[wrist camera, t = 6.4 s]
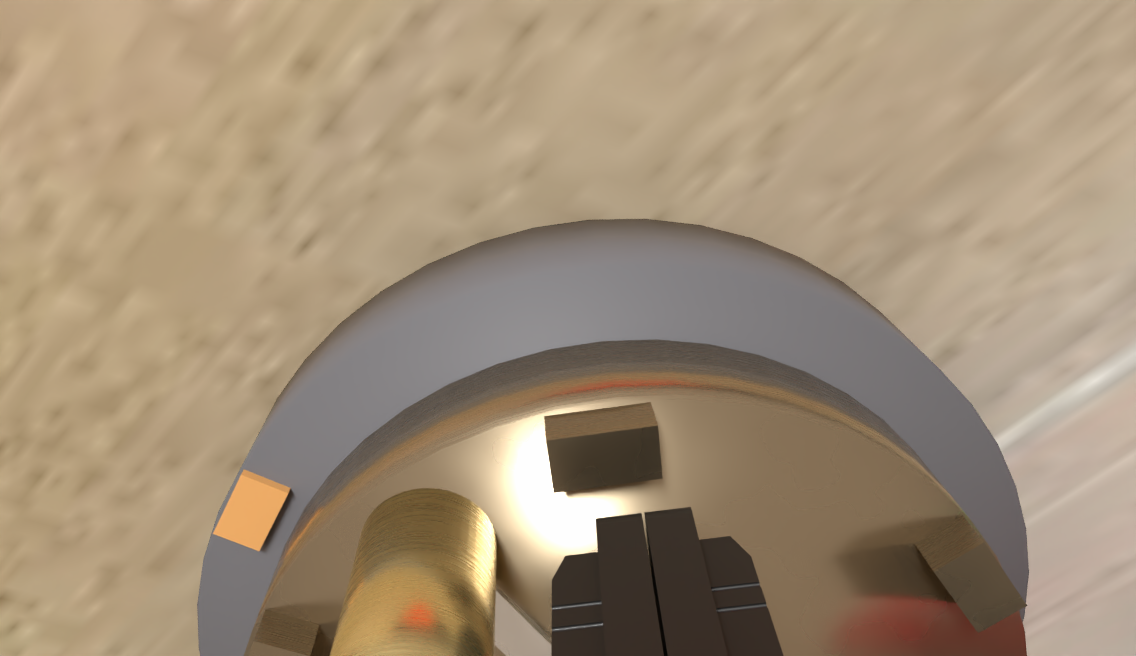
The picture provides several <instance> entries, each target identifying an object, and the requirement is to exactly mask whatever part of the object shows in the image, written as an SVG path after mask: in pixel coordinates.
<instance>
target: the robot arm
mask: <svg viewBox="0 0 1136 656" xmlns="http://www.w3.org/2000/svg"><path fill="white" fill-rule="evenodd" d="M644 516H645V525H646V534H647V542H648V550H649V557H648V551H647V544H646V538H645V531H644V525H643V519H642V513H637V514H629V515H620V516H612V517H604V518H596V533H597V547H598V552H593V553H584V554H576V555H567V556H565V557H564V559H563V561H562V563H561V564H560V566H559V568H558V570H557V572H556V573H555V575H554V577H553V579H552V642H551V656H784V655H783V652H782V649H781V646H780V643H779V640H778V637H777V634H776V631H775V628H774V625H773V622H772V619H771V616H770V612H769V609H768V608H767V605H766V600H765V597H764V594H763V591H762V588H761V587H760V583H759V579H758V576H757V573H756V570H755V567H754V564H753V560H752V557H751V556H750V555H749V554H748V553H747V552H746V551H745V550H744V549H743V548H742V547H741V546H740V545H739V544H738V543H737V542H736V541H735V540H734V539H733V538H732V537H731V536H726V537H717V538H709V539H700V540H699V537H698V533H697V529H696V525H695V521H694V517H693V513H692V509H691V507H685V508H677V509H668V510H660V511H652V512H644ZM649 559H650V563H649ZM650 567H651V570H650Z"/></svg>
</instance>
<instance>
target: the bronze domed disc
mask: <svg viewBox="0 0 1136 656" xmlns="http://www.w3.org/2000/svg"><path fill="white" fill-rule="evenodd" d="M685 507H691V509H692V513H693V517H694V521H695V525H696V529H697V533H698V537H699V540H700V539H709V538H717V537H726V536H731V537H732V538H733V539H734V540H735V541H736V542H737V543H738V544H739V545H740V546H741V547H742V548H743V549H744V550H745V551H746V552H747V553H748V554H749V555H750V556H751V557H752V560H753V564H754V567H755V570H756V573H757V576H758V579H759V583H760V587H761V588H762V591H763V594H764V597H765V600H766V605H767V608H768V609H769V612H770V616H771V619H772V622H773V625H774V628H775V631H776V634H777V637H778V640H779V643H780V646H781V649H782V652H783V655H784V656H1027V653H1026V641H1025V631H1024V627H1023V623H1022V620H1021V616H1020V612H1019V610H1020V609H1022V608H1024V607H1026V606H1027V604H1026V603H1025V602H1024V600H1023V599H1022V597H1021V596H1020V594H1019V593H1018V591H1017V590H1016V588H1015V587H1014V585H1013V584H1012V582H1011V581H1010V579H1009V578H1008V576H1007V575H1006V573H1005V572H1004V570H1003V568H1002V566H1001V564H1000V562H999V560H998V558H997V556H996V554H995V553H994V552H993V550H992V549H991V547H990V546H989V545H988V543H987V542H986V540H985V539H984V538H983V536H982V535H981V533H980V532H979V531H978V529H977V528H976V527H975V525H974V524H973V522H972V521H971V520H970V518H969V517H968V516H967V515H966V514H965V512H964V511H963V510H962V509H961V507H960V506H959V505H958V504H957V502H956V501H955V500H954V499H953V498H952V496H951V495H950V494H949V493H948V491H947V490H946V489H945V488H944V487H943V485H942V484H941V483H940V482H939V480H938V479H937V478H936V477H935V475H934V474H933V473H932V472H931V471H930V469H929V468H928V467H927V466H926V464H925V463H924V462H923V461H922V460H921V458H920V457H919V456H918V455H917V453H916V452H915V451H914V450H913V449H912V448H911V447H910V446H909V445H908V444H907V443H906V442H905V441H904V440H903V439H902V438H901V437H900V436H899V435H898V434H897V433H896V432H895V431H894V430H893V429H892V428H891V427H890V426H889V425H888V424H887V423H886V422H885V421H884V420H883V419H882V418H880V417H879V416H878V415H876V414H875V413H873V412H872V411H871V410H869V409H868V408H867V407H865V406H864V405H862V404H861V403H860V402H858V401H857V400H856V399H854V398H853V397H851V396H850V395H849V394H847V393H845V392H844V391H842V390H840V389H838V388H836V387H834V386H832V385H830V384H828V383H826V382H824V381H823V380H821V379H819V378H817V377H815V376H813V375H811V374H809V373H807V372H805V371H802V370H800V369H797V368H794V367H791V366H789V365H786V364H783V363H780V362H777V361H775V360H772V359H769V358H766V357H764V356H761V355H757V354H752V353H748V352H743V351H739V350H734V349H729V348H725V347H720V346H716V345H711V344H702V343H691V342H680V341H669V340H658V339H654V340H623V341H601V342H594V343H588V344H581V345H575V346H568V347H561V348H555V349H549V350H545V351H542V352H538V353H535V354H531V355H527V356H524V357H520V358H517V359H513V360H509V361H506V362H502V363H499V364H496V365H493V366H491V367H489V368H486V369H484V370H481V371H479V372H476V373H474V374H472V375H469V376H467V377H464V378H462V379H460V380H457V381H455V382H452V383H450V384H448V385H446V386H444V387H443V388H441V389H439V390H437V391H436V392H434V393H432V394H430V395H428V396H427V397H425V398H423V399H421V400H420V401H418V402H416V403H414V404H413V405H411V406H409V407H407V408H406V409H404V410H403V411H401V412H400V413H399V414H397V415H396V416H395V417H393V418H392V419H391V420H389V421H388V422H387V423H385V424H384V425H383V426H381V427H380V428H379V429H377V430H376V431H375V432H373V433H372V434H371V435H369V436H368V437H367V438H366V439H364V440H363V441H362V442H361V443H360V444H359V445H358V446H357V447H356V448H355V449H354V450H353V451H352V452H351V453H350V454H349V455H348V456H347V457H346V458H345V459H344V460H343V461H342V462H341V463H340V464H339V465H338V466H337V467H336V468H335V469H334V470H333V471H332V472H331V473H330V475H329V476H328V477H327V479H326V480H325V482H324V483H323V484H322V486H321V487H320V488H319V490H318V491H317V492H316V494H315V495H314V496H313V498H312V499H311V500H310V502H309V503H308V504H307V506H306V507H305V508H304V510H303V512H302V514H301V516H300V518H299V520H298V521H297V523H296V525H295V527H294V529H293V531H292V533H291V535H290V536H289V538H288V540H287V542H286V544H285V546H284V549H283V551H282V554H281V556H280V559H279V562H278V564H277V567H276V570H275V572H274V575H273V577H272V580H271V583H270V585H269V588H268V590H267V593H266V596H265V598H264V601H263V604H262V606H261V609H260V611H259V614H258V617H257V619H256V622H255V625H254V627H253V630H252V633H251V636H250V639H249V642H248V645H247V647H246V650H245V653H244V656H551V642H552V579H553V577H554V575H555V573H556V572H557V570H558V568H559V566H560V564H561V563H562V561H563V559H564V557H565V556H567V555H576V554H584V553H593V552H598V547H597V533H596V518H604V517H612V516H620V515H629V514H637V513H642V519H643V525H644V531H645V538H646V544H647V551H648V557H649V550H648V542H647V534H646V525H645V516H644V512H652V511H660V510H668V509H677V508H685ZM649 563H650V559H649ZM650 570H651V567H650Z"/></svg>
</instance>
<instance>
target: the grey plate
mask: <svg viewBox="0 0 1136 656" xmlns="http://www.w3.org/2000/svg"><path fill="white" fill-rule="evenodd" d="M654 339H658V340H669V341H680V342H691V343H702V344H711V345H716V346H720V347H725V348H729V349H734V350H739V351H743V352H748V353H752V354H757V355H761V356H764V357H766V358H769V359H772V360H775V361H777V362H780V363H783V364H786V365H789V366H791V367H794V368H797V369H800V370H802V371H805V372H807V373H809V374H811V375H813V376H815V377H817V378H819V379H821V380H823V381H824V382H826V383H828V384H830V385H832V386H834V387H836V388H838V389H840V390H842V391H844V392H845V393H847V394H849V395H850V396H851V397H853V398H854V399H856V400H857V401H858V402H860V403H861V404H862V405H864V406H865V407H867V408H868V409H869V410H871V411H872V412H873V413H875V414H876V415H878V416H879V417H880V418H882V419H883V420H884V421H885V422H886V423H887V424H888V425H889V426H890V427H891V428H892V429H893V430H894V431H895V432H896V433H897V434H898V435H899V436H900V437H901V438H902V439H903V440H904V441H905V442H906V443H907V444H908V445H909V446H910V447H911V448H912V449H913V450H914V451H915V452H916V453H917V455H918V456H919V457H920V458H921V460H922V461H923V462H924V463H925V464H926V466H927V467H928V468H929V469H930V471H931V472H932V473H933V474H934V475H935V477H936V478H937V479H938V480H939V482H940V483H941V484H942V485H943V487H944V488H945V489H946V490H947V491H948V493H949V494H950V495H951V496H952V498H953V499H954V500H955V501H956V502H957V504H958V505H959V506H960V507H961V509H962V510H963V511H964V512H965V514H966V515H967V516H968V517H969V518H970V520H971V521H972V522H973V524H974V525H975V527H976V528H977V529H978V531H979V532H980V533H981V535H982V536H983V538H984V539H985V540H986V542H987V543H988V545H989V546H990V547H991V549H992V550H993V552H994V553H995V554H996V556H997V558H998V560H999V562H1000V564H1001V566H1002V568H1003V570H1004V572H1005V573H1006V575H1007V576H1008V578H1009V579H1010V581H1011V582H1012V584H1013V585H1014V587H1015V588H1016V590H1017V591H1018V593H1019V594H1020V596H1021V597H1022V599H1023V600H1024V602H1025V603H1026V595H1027V585H1028V575H1029V568H1028V552H1027V536H1026V527H1025V523H1024V519H1023V514H1022V510H1021V506H1020V502H1019V498H1018V493H1017V489H1016V486H1015V483H1014V481H1013V479H1012V476H1011V474H1010V472H1009V469H1008V467H1007V465H1006V462H1005V460H1004V458H1003V455H1002V453H1001V451H1000V448H999V446H998V444H997V442H996V441H995V439H994V438H993V436H992V435H991V433H990V432H989V430H988V429H987V427H986V425H985V424H984V422H983V421H982V419H981V418H980V416H979V415H978V413H977V412H976V410H975V409H974V407H973V405H972V404H971V403H970V402H969V401H968V400H967V399H966V397H965V396H964V395H963V394H962V393H961V392H960V391H959V390H958V389H957V388H956V387H955V385H954V384H953V383H952V382H951V381H950V380H949V379H948V378H947V377H946V376H945V375H944V374H943V372H942V371H941V370H940V369H939V368H938V367H937V366H936V365H935V364H934V363H933V362H932V361H931V360H930V359H929V358H928V357H927V356H926V355H925V354H924V353H922V352H921V351H920V350H919V349H918V348H917V347H916V346H915V345H914V344H913V343H912V342H911V341H910V340H909V339H908V338H907V337H906V336H905V335H904V334H903V333H902V332H901V331H900V330H899V329H898V328H897V327H895V326H894V325H893V324H892V323H891V322H890V321H889V320H888V319H887V318H886V317H885V316H884V315H883V314H882V313H881V312H880V311H879V310H877V309H876V308H875V307H874V306H872V305H871V304H870V303H869V302H867V301H866V300H865V299H863V298H862V297H861V296H860V295H858V294H857V293H856V292H855V291H853V290H852V289H851V288H850V287H848V286H847V285H846V284H845V283H843V282H842V281H840V280H838V279H836V278H835V277H833V276H831V275H830V274H828V273H826V272H824V271H823V270H821V269H819V268H817V267H816V266H814V265H812V264H810V263H809V262H807V261H805V260H804V259H802V258H800V257H797V256H795V255H793V254H790V253H788V252H785V251H783V250H780V249H778V248H775V247H773V246H770V245H768V244H765V243H763V242H760V241H758V240H755V239H753V238H749V237H745V236H741V235H737V234H733V233H729V232H725V231H721V230H717V229H713V228H709V227H705V226H701V225H693V224H684V223H676V222H667V221H658V220H649V219H615V220H585V221H578V222H571V223H564V224H557V225H550V226H543V227H536V228H531V229H528V230H524V231H520V232H517V233H513V234H509V235H506V236H502V237H498V238H495V239H491V240H487V241H484V242H480V243H477V244H475V245H473V246H470V247H468V248H466V249H463V250H461V251H458V252H456V253H454V254H451V255H449V256H446V257H444V258H442V259H439V260H437V261H434V262H432V263H430V264H428V265H426V266H424V267H422V268H421V269H419V270H417V271H415V272H414V273H412V274H410V275H409V276H407V277H405V278H403V279H402V280H400V281H398V282H397V283H395V284H393V285H391V286H390V287H388V288H386V289H384V290H383V291H381V292H380V293H379V294H377V295H376V296H375V297H373V298H372V299H371V300H370V301H368V302H367V303H366V304H364V305H363V306H362V307H361V308H359V309H358V310H357V311H355V312H354V313H353V314H352V315H350V316H349V317H348V318H346V319H345V320H344V321H343V322H341V323H340V324H339V325H338V326H337V327H336V328H335V329H334V330H333V331H332V332H331V333H330V334H329V335H328V337H327V338H326V339H325V340H324V341H323V342H322V343H321V344H320V345H319V346H318V347H317V348H316V349H315V350H314V351H313V352H312V353H311V354H310V355H309V356H308V357H307V358H306V359H305V361H304V362H303V363H302V365H301V366H300V368H299V369H298V370H297V372H296V373H295V375H294V376H293V377H292V379H291V380H290V382H289V383H288V384H287V386H286V387H285V388H284V390H283V391H282V393H281V394H280V395H279V397H278V398H277V400H276V402H275V404H274V406H273V408H272V410H271V412H270V413H269V415H268V417H267V419H266V421H265V423H264V425H263V427H262V429H261V431H260V432H259V434H258V436H257V438H256V440H255V442H254V444H253V446H252V448H251V450H250V452H249V453H248V455H247V457H246V459H245V461H244V463H243V465H242V467H241V469H240V471H239V473H238V475H237V477H236V479H235V481H234V483H233V484H232V486H231V488H230V490H229V492H228V494H227V496H226V498H225V500H224V502H223V504H222V506H221V508H220V510H219V512H218V515H217V518H216V521H215V524H214V528H213V531H212V534H211V537H210V540H209V543H208V547H207V550H206V553H205V556H204V560H203V567H202V575H201V582H200V589H199V597H198V604H197V606H198V634H199V651H200V656H244V653H245V650H246V647H247V645H248V642H249V639H250V636H251V633H252V630H253V627H254V625H255V622H256V619H257V617H258V614H259V611H260V609H261V606H262V604H263V601H264V598H265V596H266V593H267V590H268V588H269V585H270V583H271V580H272V577H273V575H274V572H275V570H276V567H277V564H278V562H279V559H280V556H281V554H282V551H283V549H284V546H285V544H286V542H287V540H288V538H289V536H290V535H291V533H292V531H293V529H294V527H295V525H296V523H297V521H298V520H299V518H300V516H301V514H302V512H303V510H304V508H305V507H306V506H307V504H308V503H309V502H310V500H311V499H312V498H313V496H314V495H315V494H316V492H317V491H318V490H319V488H320V487H321V486H322V484H323V483H324V482H325V480H326V479H327V477H328V476H329V475H330V473H331V472H332V471H333V470H334V469H335V468H336V467H337V466H338V465H339V464H340V463H341V462H342V461H343V460H344V459H345V458H346V457H347V456H348V455H349V454H350V453H351V452H352V451H353V450H354V449H355V448H356V447H357V446H358V445H359V444H360V443H361V442H362V441H363V440H364V439H366V438H367V437H368V436H369V435H371V434H372V433H373V432H375V431H376V430H377V429H379V428H380V427H381V426H383V425H384V424H385V423H387V422H388V421H389V420H391V419H392V418H393V417H395V416H396V415H397V414H399V413H400V412H401V411H403V410H404V409H406V408H407V407H409V406H411V405H413V404H414V403H416V402H418V401H420V400H421V399H423V398H425V397H427V396H428V395H430V394H432V393H434V392H436V391H437V390H439V389H441V388H443V387H444V386H446V385H448V384H450V383H452V382H455V381H457V380H460V379H462V378H464V377H467V376H469V375H472V374H474V373H476V372H479V371H481V370H484V369H486V368H489V367H491V366H493V365H496V364H499V363H502V362H506V361H509V360H513V359H517V358H520V357H524V356H527V355H531V354H535V353H538V352H542V351H545V350H549V349H555V348H561V347H568V346H575V345H581V344H588V343H594V342H601V341H623V340H654ZM1019 612H1020V616H1021V620H1022V623H1023V619H1024V615H1025V607H1024V608H1022V609H1020V610H1019Z"/></svg>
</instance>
